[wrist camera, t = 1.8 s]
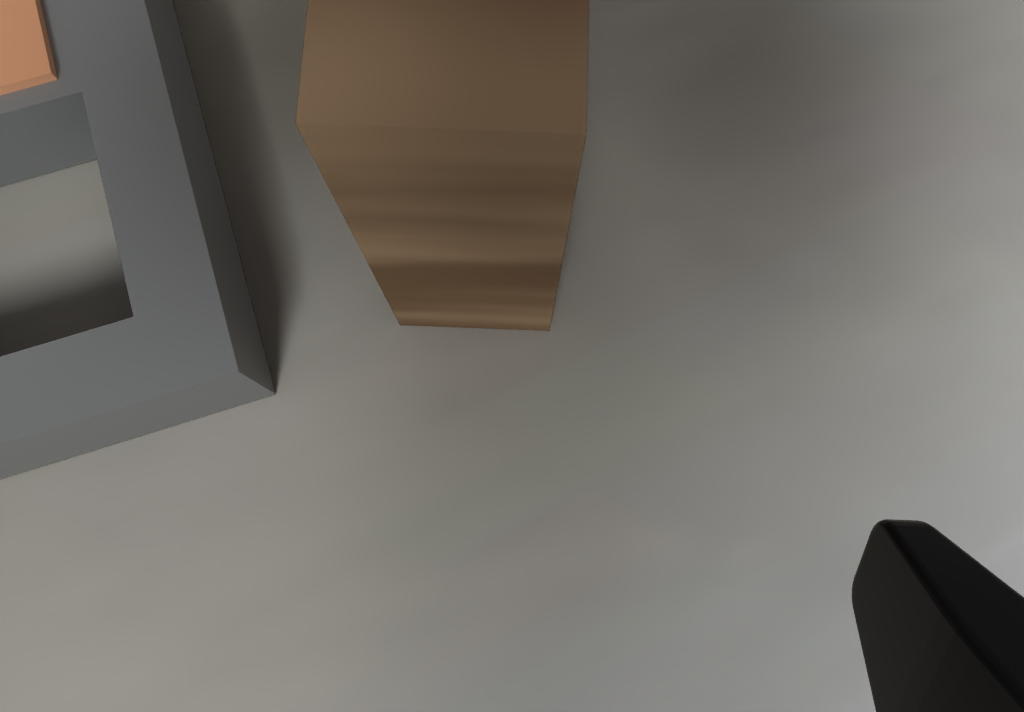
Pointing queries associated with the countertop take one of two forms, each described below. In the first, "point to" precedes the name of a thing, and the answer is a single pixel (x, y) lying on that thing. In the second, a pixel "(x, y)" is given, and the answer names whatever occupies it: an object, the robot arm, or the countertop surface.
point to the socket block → (124, 231)
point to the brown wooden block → (451, 147)
